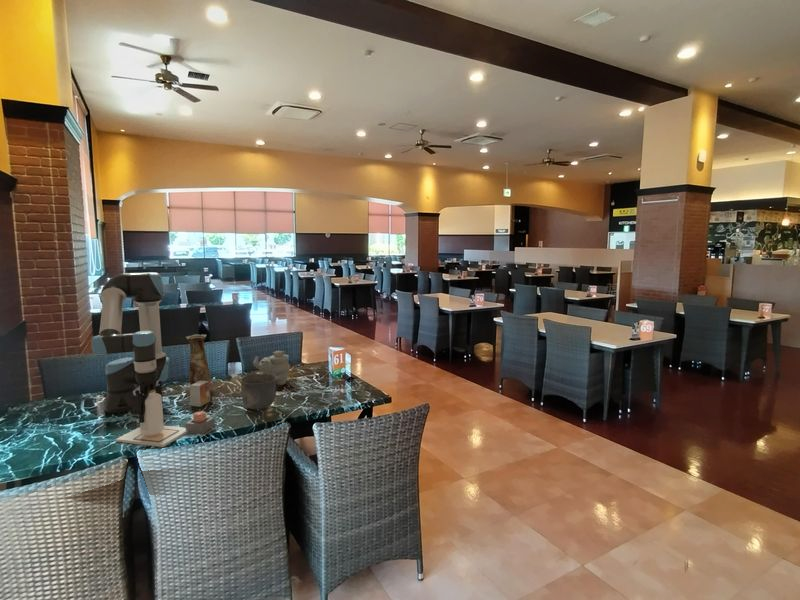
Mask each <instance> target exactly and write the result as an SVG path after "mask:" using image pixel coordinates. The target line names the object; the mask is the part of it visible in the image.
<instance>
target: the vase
mask: <svg viewBox="0 0 800 600" xmlns="http://www.w3.org/2000/svg"><path fill="white" fill-rule="evenodd" d="M185 338H186V340H188V342H189V346H190V347H189V349H190V351H189V370H188V371H189V372H188V381H189V386H190V385H192V384H194V383H196V382H198V381H209V384H211V372H210V368H209V365H208V364H209V362H208V359H207V355H206V350H205V343H204V342H205V339H206V338H207V334H203V333H202V334H199V333H198V334H192V335H188V336H185Z"/></svg>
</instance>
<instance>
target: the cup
mask: <svg viewBox="0 0 800 600" xmlns="http://www.w3.org/2000/svg"><path fill="white" fill-rule="evenodd" d="M277 380H278V377H277V376H276V375H275V374H271V373H263V372H262V373H250V374H247V375H244V376H243V377H241V378H240V379H239V382H240V387H241V390H240V392H241V400H242V404H243V405H244V406H245V408H247V409H251V410H263V409H266V408H268V407H270V406H271V405H273V403H274V402H275V400H276V396H277V395H276V394H277V392H276V391H277V389H276V388H277V385H276V383H277Z"/></svg>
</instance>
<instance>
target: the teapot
mask: <svg viewBox="0 0 800 600" xmlns="http://www.w3.org/2000/svg"><path fill="white" fill-rule="evenodd" d="M285 353H286V351H285V350H276V351H272V354H273V355H270V356H268V357H266V356H265V357H263V358H261V360H260V361H259V356H258V355H257V356H255V357H254V359H253V362H252V365H253V367H254V368H256V369H257V370H258V371H259V372H261V373H262V374H263V373H271V374H275V375H276V376H277V377H278V380H277V383H276V384H277V385H276V386H278V385H279V386H282V385H285V384H286V383H287V381H288V374H289V371H290V369H291V365H290V363H289V360H290V356H289V355H288V354H285Z"/></svg>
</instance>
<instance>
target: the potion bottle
mask: <svg viewBox="0 0 800 600" xmlns="http://www.w3.org/2000/svg"><path fill="white" fill-rule="evenodd" d="M155 392H156V391H155V389H154V390H150V391H149V395H148V397H147V399H146V400H145V414H146V415H147V427H148V430H141V434H143V435H146V436H151V435H156V434H158V433H160V432H162V431H163V429H164V425H165V423H164V422H165V421H164V412H163V404H162V398H163V395H162V396H161V395H160V394H158V393H155ZM143 395H145V394H143Z"/></svg>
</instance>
